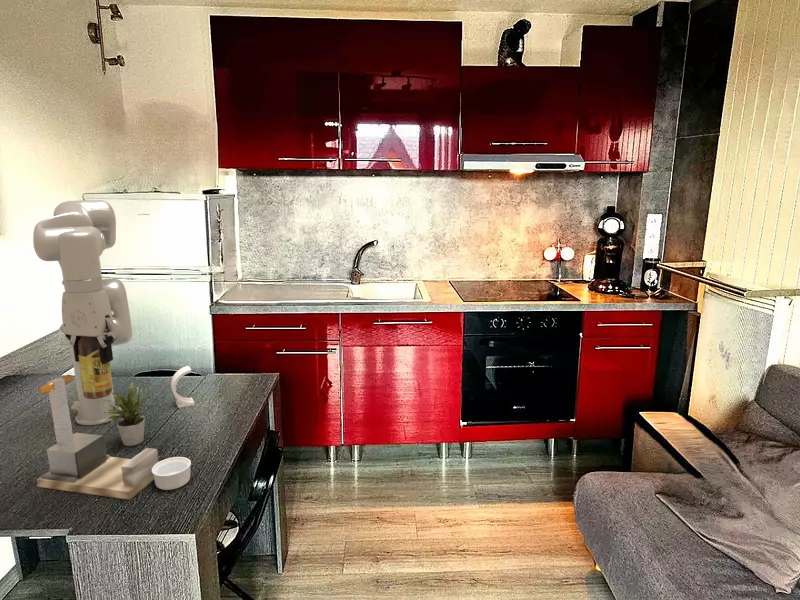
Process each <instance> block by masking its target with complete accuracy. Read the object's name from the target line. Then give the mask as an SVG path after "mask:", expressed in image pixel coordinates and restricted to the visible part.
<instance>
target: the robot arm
mask: <svg viewBox="0 0 800 600" xmlns="http://www.w3.org/2000/svg"><path fill="white" fill-rule="evenodd" d="M116 219H117V217H116V213H115V211H114V209H113V207H112V204H110V203H109V202H108V201H106V200H104V199H103V200H102V199H89V200H88V199H87V200H82V199H81V200H67V201H63V202H60V203H59V204H58V205H57V206H56V207H55V208H54V211H53V216H51V217H48V218H46V219H43V220H41V221H39V222H37V223H36V224H35V226H34V229H33V235H32V236H33V237H32V238H33V239H32V241H33V242H32V243H33V248H34V252H35V255H36V256H37V257H38V259H40V260H42V261H45V262H58V264H59V266H60V268H61V273H62V282H61V284H62V285H63V287H64V291H63V292H62V297H61V320H62V324H61V325H60V326H59V330H60V331H61V333H62V334H64V335H65V339H66V342H67V344H68V348H69V351H70V354H71V359H72V365H73V369H74V376H75V383H76V390H77V397H78V400H74V402H73V405H71V407H70V409H71V410H72V411H77V414H76V415H75V422H76V423H77V424H79V425H80V426H81V425H82V426H97V425H101V424H105V423H106V424H107V423H109V422H111V420H112V419H109V420H108V418H109V417H111V416H113V415H114V416H121V415H120V414H112V413H106V414H105V413H104V412H107V411H109V410H111V409H113V408H112V407H111V406H109V405H112V406H114V407H115V408H116V409H118V408H119V409H120V410H123V409H122V408H121V407H120V406H119V405H117V404H116V401H115V400H116V398H115V397H114V395H112V394H109V395H108V396H106V397H102V398H97V399H87V398H85V397H84V392H83V390H82V382H81V373H80V364H79V356H78V354H79V351H78V342H79V340H80V338H81V336H85V337H97V339H98V341H99V343H100V345H101V346H102V347H100V348H99V352H100V359H101V363H102V364H106V363H108V362H110V363H111V361H113V360H114V354H113V348H112V347H115V346H120V345H126V344H128V343H129V342H131V340H132V337H133V330H132V329H133V328H132V321H131V315H130V313H131V312H130V308H129V300H128V295H127V290H126V288H125V287H126V286H125V285H124V283H123V282H122V281H121V279H119V278H118V279H117V278H103V276H102V269H101V267H102V266H101V260H100V256H102V255H103V254H104V253H103V252H104V251H105V250H108V249H110V248H112V247H114V246H115V244H116V240H117V231H116V230H117V221H116ZM111 377H112V375H111ZM112 378H113V377H112ZM112 392H113V393H115V392H114V386H113V383H112ZM100 400H110V401H100ZM111 401H113V402H111ZM104 402H106V403H104ZM108 402H109V403H108ZM114 402H115V403H114ZM113 404H114V405H113ZM116 406H117V407H118V408H117V407H116ZM119 409H118V410H119ZM108 414H110V415H108ZM107 420H108V421H107Z"/></svg>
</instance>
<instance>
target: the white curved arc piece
mask: <svg viewBox="0 0 800 600" xmlns="http://www.w3.org/2000/svg"><path fill="white" fill-rule="evenodd" d="M190 373H192V368H191V367H190V365H186V366H183V367H181V368H179V369H178V370H177V371H175V373H174V374H173V376H172V378H171V382H170V389H171V391H172V393H173V395H174V398H175V399H176V400H175V403H176V406H177V408H178V409H180V408H184V407H185V408H186V407H189V406H190V407H191V406H195V405H196V403H195V401H194V399H193V397H185V396H181V395H180V394H178V393H177V384H178V383H179V381H180V379H182V378H183V377H184V376H185V375H187V374H190Z"/></svg>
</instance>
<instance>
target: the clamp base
mask: <svg viewBox="0 0 800 600" xmlns="http://www.w3.org/2000/svg"><path fill="white" fill-rule="evenodd" d="M106 455H107V460H106V461H105V462H103V463H102V464H100V465H99V466H97V467H96V468H95V469H93V470H92V471H90V472H89V473H87V474H86V475H85V476H83V477H82V478H80V479H79V478H75V477H68V476H60V475H53V474H51V472H50V470H48V471H47V472H45V473H43V474H41V475H40V476H39V477H38V478H36V485H37V487H38V488H45V489H51V490H52V489H53V490H59V491H66V492H71V493H72V492H73V493H79V494H80V493H81V494H88V495H96V496H100V497H101V496H102V497H108V498H117V499H122V500H131V499H132V498H135V496H136V495H138V493H140V492H141V491H142V490H143V489H145V488H146V487H147V486H149V484H151V483H152V482H153V481H155V480H154V476H153V474H152V468H153V466H154V465H155V464H156V463H158V462H160V461H159V454H158V448H151V447H150V448H149V447H145V448H144V449H143V450H141V451H140V452H139V453H137V454H136V455H135V456H134V457H131V459H130V458H124V457H116V456H110V454H106Z"/></svg>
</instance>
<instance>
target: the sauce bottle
mask: <svg viewBox="0 0 800 600" xmlns="http://www.w3.org/2000/svg"><path fill="white" fill-rule="evenodd" d="M100 347H102V346H101V345H100V343H99V341H98V339H97V337H85V336H81V338H80V340H79V342H78V351H79V354H78V356H79V364H80V373H81V382H82V390H83V392H84V397H85V398H87V399H97V398H102V397H106V396H108V395H109V394H111V392H112V384H113V377H111V376H112V371H111V361H110V362H108V363H106V364H102V363H101V359H100V352H99V348H100Z"/></svg>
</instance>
